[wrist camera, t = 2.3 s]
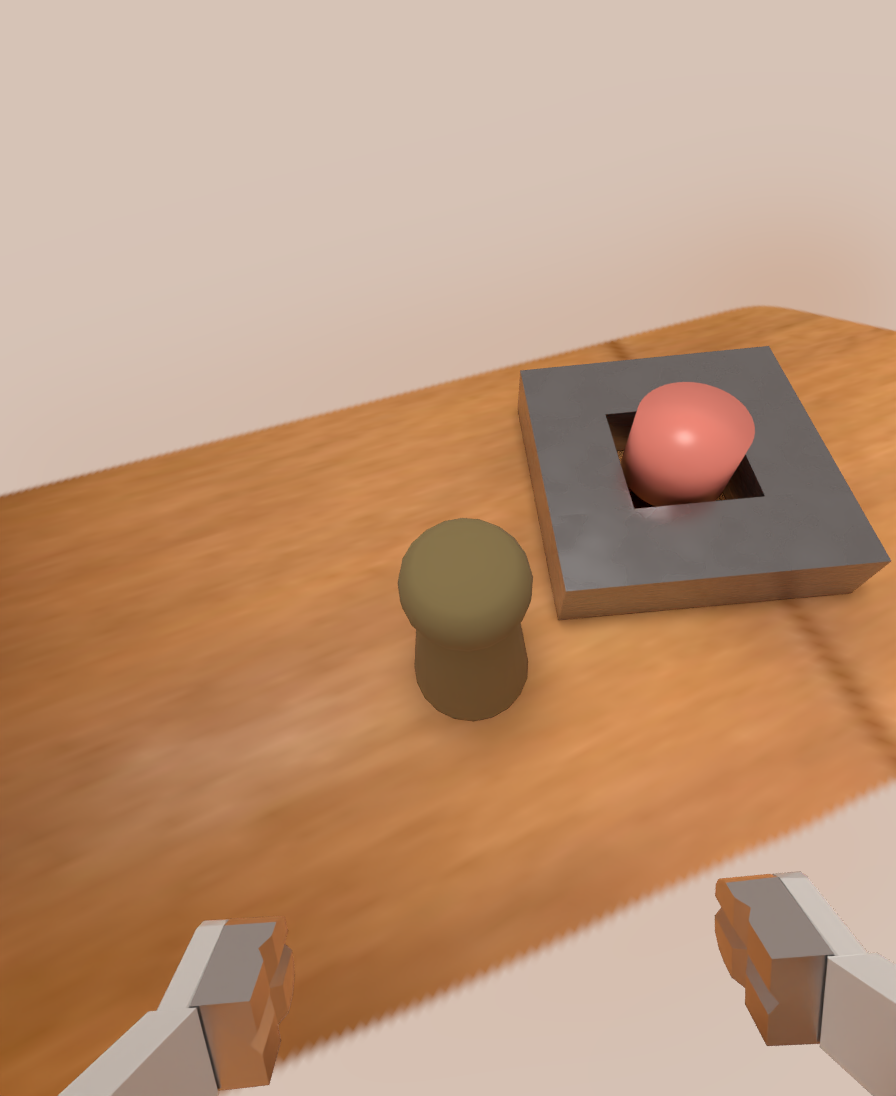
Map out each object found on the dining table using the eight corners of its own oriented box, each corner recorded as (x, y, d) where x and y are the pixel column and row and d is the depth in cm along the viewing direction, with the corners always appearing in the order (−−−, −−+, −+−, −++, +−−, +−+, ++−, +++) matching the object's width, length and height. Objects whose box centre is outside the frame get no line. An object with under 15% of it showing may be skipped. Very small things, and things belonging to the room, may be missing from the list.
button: (634, 516, 31) (652, 471, 28) (610, 436, 34) (624, 387, 31) (741, 505, 31) (773, 459, 28) (707, 427, 34) (731, 377, 31)
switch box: (558, 620, 30) (566, 591, 27) (517, 410, 39) (520, 370, 36) (851, 593, 30) (891, 561, 27) (746, 387, 38) (768, 346, 35)
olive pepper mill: (456, 592, 31) (443, 470, 22) (549, 648, 29) (578, 539, 20) (391, 678, 29) (346, 582, 20) (488, 745, 27) (488, 673, 18)
